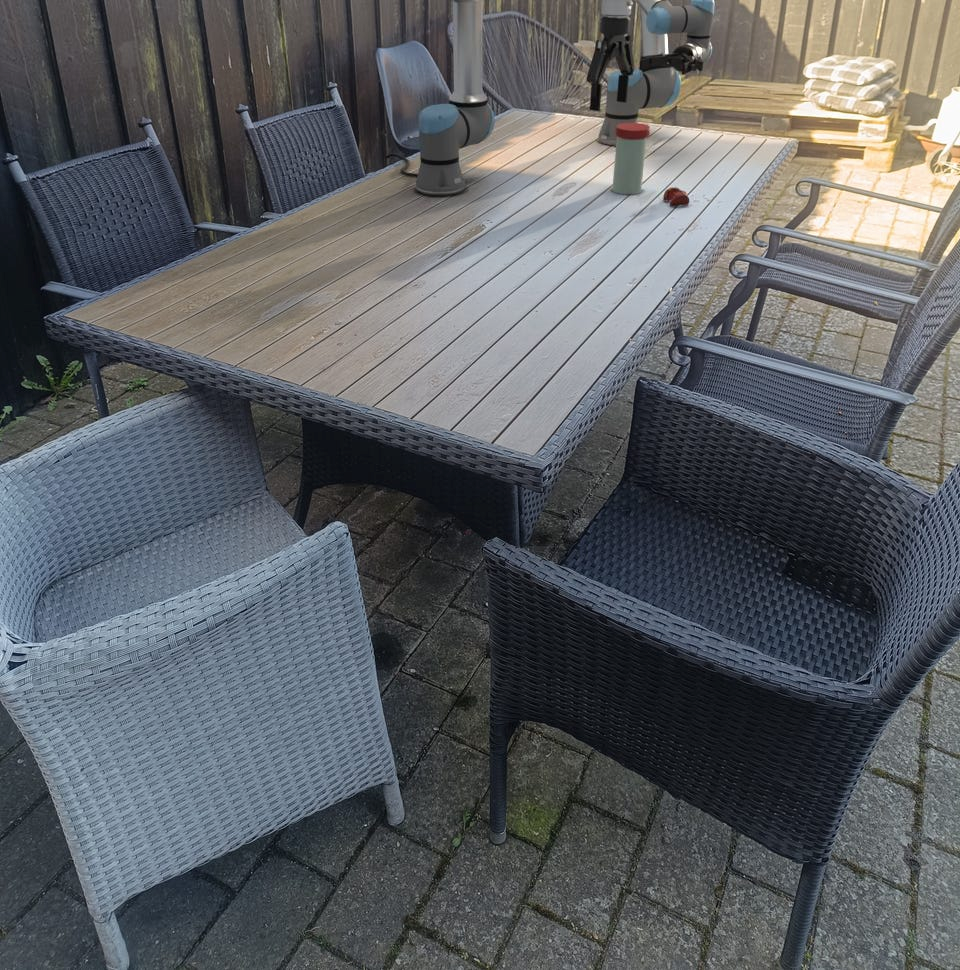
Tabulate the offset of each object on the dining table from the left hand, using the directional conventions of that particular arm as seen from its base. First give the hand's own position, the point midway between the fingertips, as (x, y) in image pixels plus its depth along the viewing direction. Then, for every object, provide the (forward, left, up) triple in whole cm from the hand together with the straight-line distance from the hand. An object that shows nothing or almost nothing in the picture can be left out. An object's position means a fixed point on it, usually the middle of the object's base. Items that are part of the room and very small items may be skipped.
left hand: (608, 106), depth 226 cm
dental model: (+14, +20, -28) cm, 37 cm away
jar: (-4, +22, -28) cm, 36 cm away
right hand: (-7, +42, +3) cm, 43 cm away
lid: (-4, +22, -10) cm, 24 cm away
